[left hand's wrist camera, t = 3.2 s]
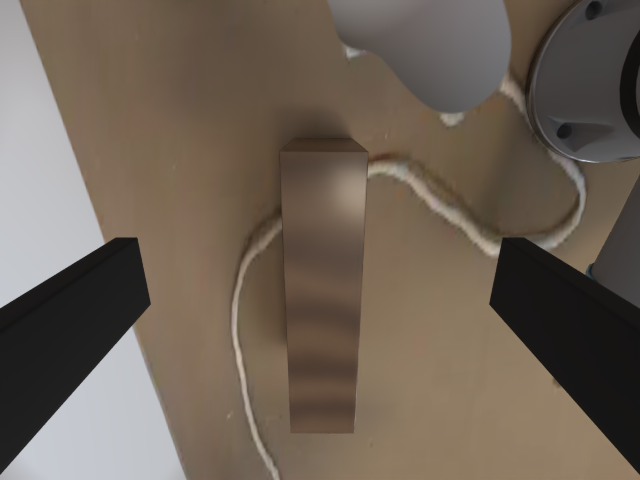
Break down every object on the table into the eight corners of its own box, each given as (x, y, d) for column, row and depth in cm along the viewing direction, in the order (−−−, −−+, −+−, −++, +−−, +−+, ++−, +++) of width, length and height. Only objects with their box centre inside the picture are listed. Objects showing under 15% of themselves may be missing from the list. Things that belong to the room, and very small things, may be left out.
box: (293, 138, 34) (279, 151, 23) (353, 138, 34) (368, 151, 23) (298, 350, 43) (290, 433, 32) (346, 350, 43) (354, 433, 32)
